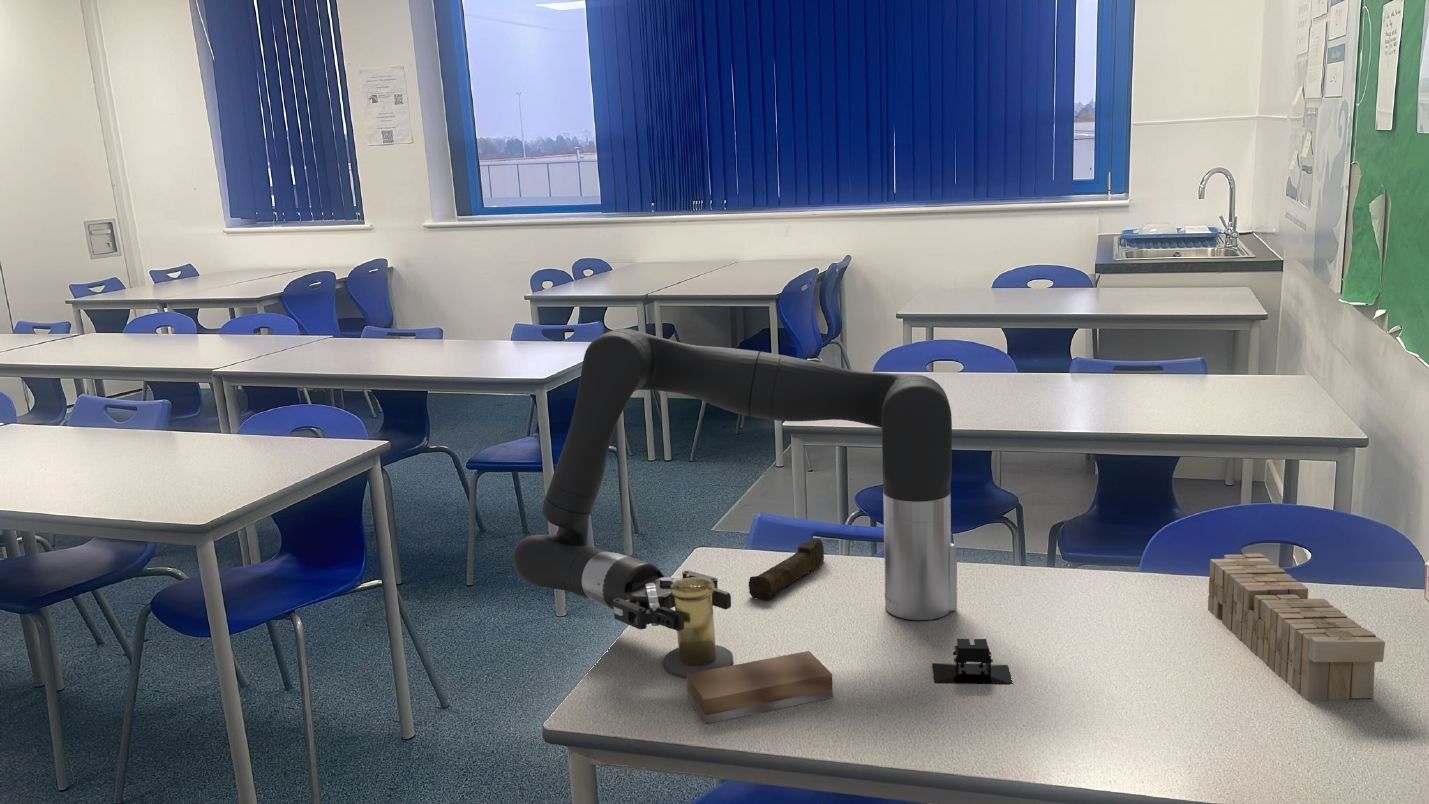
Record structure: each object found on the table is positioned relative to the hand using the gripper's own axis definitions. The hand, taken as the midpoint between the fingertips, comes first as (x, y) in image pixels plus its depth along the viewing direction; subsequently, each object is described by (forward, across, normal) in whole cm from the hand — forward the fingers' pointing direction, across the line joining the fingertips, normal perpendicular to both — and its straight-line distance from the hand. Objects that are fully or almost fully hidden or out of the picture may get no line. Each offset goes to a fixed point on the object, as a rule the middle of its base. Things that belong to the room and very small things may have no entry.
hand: (706, 611), depth 135 cm
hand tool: (-11, +30, +8) cm, 33 cm away
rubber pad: (-2, 0, +8) cm, 8 cm away
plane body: (+11, -2, +8) cm, 13 cm away
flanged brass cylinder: (-2, 0, +7) cm, 7 cm away
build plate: (+27, +19, +8) cm, 34 cm away
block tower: (+53, +48, +8) cm, 73 cm away
